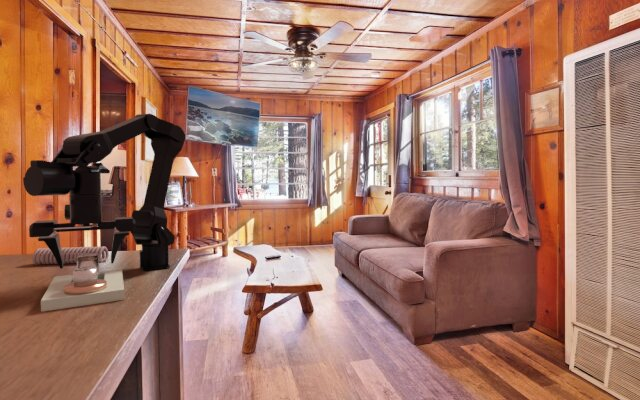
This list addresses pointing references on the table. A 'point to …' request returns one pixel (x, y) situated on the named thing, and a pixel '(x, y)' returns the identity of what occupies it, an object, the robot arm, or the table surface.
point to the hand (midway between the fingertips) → (87, 265)
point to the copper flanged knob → (85, 282)
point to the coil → (68, 254)
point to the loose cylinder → (88, 261)
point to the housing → (60, 300)
